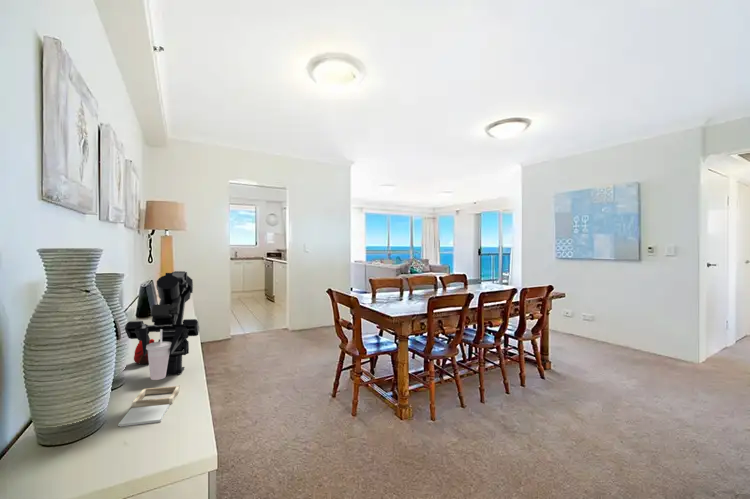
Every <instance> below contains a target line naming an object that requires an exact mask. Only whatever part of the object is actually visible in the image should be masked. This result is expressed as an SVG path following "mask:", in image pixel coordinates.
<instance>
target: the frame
mask: <svg viewBox="0 0 750 499" xmlns="http://www.w3.org/2000/svg"><path fill="white" fill-rule="evenodd" d="M180 391H181V386H180V385H172V386H160V387H159V386H158V387H149V388H143V389H142V390H141V391H140V392H139V394H138V395H137V396H136V398H135V399H133V401H132V404H131V406H132V407H131V408H137V407H147V406H157V405H167V404H170V405H173V403H174V401H175V400H176V398H177V397H178V394H179V393H180ZM167 393H168V394H169V393H171V395H170V396H169V397H163V398H150V399H143V398H144V397H145V396H146V395H154V394H167Z"/></svg>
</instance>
